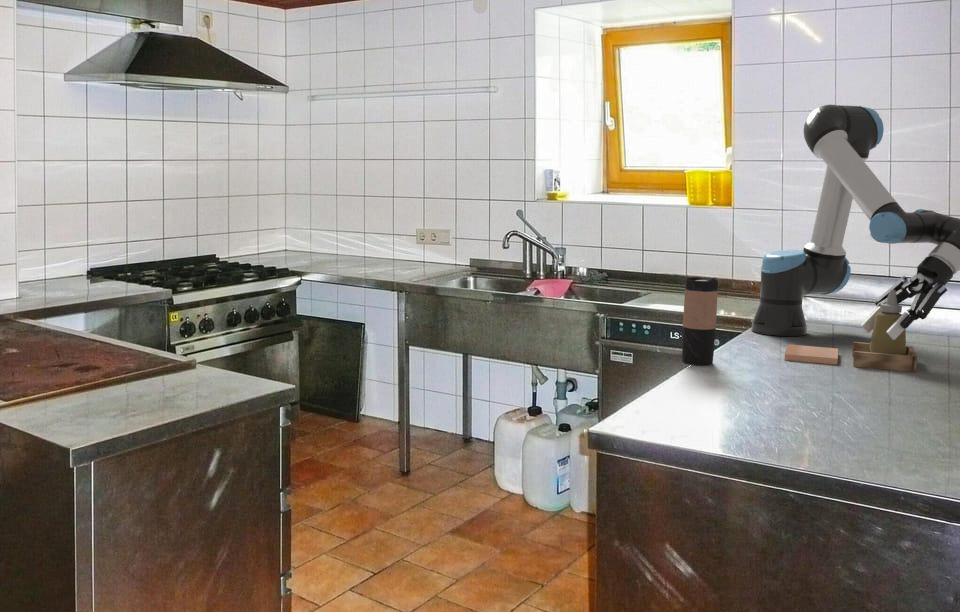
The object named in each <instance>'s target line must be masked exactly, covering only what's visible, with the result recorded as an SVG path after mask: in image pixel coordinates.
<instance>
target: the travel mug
mask: <svg viewBox="0 0 960 612" xmlns="http://www.w3.org/2000/svg"><path fill="white" fill-rule="evenodd" d="M684 284H685V285H684V300H683V302H684V303H683V317H682V340H681V341H682V344H681V345H682V346H681V349H682V351H681V352H682V353H681V362H682V363H683V364H686V365H690V366H699V367H700V366H706V367H707V366H711V365H713V362H714V356H715V355H714V354H715V342H716V330H717V328H716V327H717V316H718V315H717V313H718V312H717V311H718V310H717V309H718V296H719V295H718V290H719V280H718V279H716V278H710V279H709V280H705V279H703V278H702V277H686V278H685V283H684Z"/></svg>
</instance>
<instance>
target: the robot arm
mask: <svg viewBox="0 0 960 612" xmlns="http://www.w3.org/2000/svg"><path fill="white" fill-rule="evenodd" d="M884 132H885V131H884V123H883V120H882V118H881V117H880V114H879V113H878V111H876V110H875V109H873V108H870V107H865V106H861V105H840V104H825V105H821V106H819V107H816V108H815V109H813V110H812V111H811V112H810V114H808V116H807V117H806V120H805V121H804V125H803V136H804V137H803V138H804V140H805V144H806V146H807V148H808V149H809V151H811V152H812V154H813V155H814V157H816V158H817V159H820V160H821V159H822V160H823V161H824V163H825V164H826V165H827V166H826V168H825V174H824V179H823V183H822V186H821V187H822V188H821V193H820V198H819V202H818V207H817V210H816V215H815V220H814V224H813V229H812V235H811V240H810V241H808V242H807V243H805V244H804V246H803V250H800V249H785V250H784V249H781V250H773V251H769V252H767V253H766V254H765V255H764V256H763V257H762V263H761V266H760V290H759V291H760V292H759V305H758V307H757V309H756V311H755V314H754V316H753V320H752V322H751V331H752V332H754V333H758V334H762V335H768V336H769V335H770V336H779V337H798V336H800V337H801V336H805V335H807V332H808V331H807V330H808V325H807V321H806V318H805V313H804V310H803V297H804V296H808V295H821V296H823V295H826V296H827V295H829V294H835V293H838V292H840V291H841V290H843V289H844V288H845V286H846V285H848V282H849V280H850V277H851V273H852V269H851V266H850V261H849V259H848V258H847V257H846V255H847V251H846V250H845V248H844V247H843V244H844V238H845V235H846V229H847V226H848V222H849V217H850V212H851V209H852V204H853V200H854V201H855V203H856V204H857V205H858V208H860V209H861V210H862V212H863V213H864V214H865V216H866V217H867V219H868V220H869V221H870V222H869V226H868V229H869V232H870V234H869V235H870V236H871V238H872V239H873V240H874V241H876V242H877V243H881V244H882V243H883V244H891V245H893V244H894V245H895V244H921V243H922V244H932V245H933V244H934V245H936V246H935V247H934V248H933V249H931V251H930V252H929V254H928V256H926V257H925V258H923V260H922V261H921V262H920V263H919V264H918V265H917V269H916V274H915V275H913V276H911V277H909V278H907V277H906V275H902V276H901V277H900V278H899V279H898V280H897V282H896V283H894V284H893V285H892V286H891V287H890V288H888V290H887V289H886V291H885V292H883V294H881V295H880V296H879V297H878V298H877V299H875V300H874V301H873V303H874V305H875V306H876V308H874V310H873V311H872V312H870V314H869V315H868V317H866V319H865V320H864V321H863V322H862V323H861V324H860V326H861V328H862V329H863V330H864V331H865V332H866V334H870V333H871V332H872V331H873V327H874V322H875V317H876V314H878V313H880V312H882V311H880V310H881V304H886V301H887V298H888V295H889V292H890V290H896V297H897V304H898V305H900V304H902V302H904V301H905V300H907V299H912V298H913V297H914V299H913V301H912V303H911V306H910V307H909V309H906V311H904V312H903V313H901V314H902V315H901V317H900V318H899V319H898V320H897V321H896V322H895V323H894V324H893V325H892V326H891V327H890V328H889V329H888V330H887V331H886V332H887V334H888V335H889V336H890V337H891V338H892V340H895V339H896V338H897V337H898V336H899V335H900V334H901V333H902V332H903V331H904V330H905V329H908V328H909V326H910V325H911V324H913V322H914V321H917V320H918V319H921V321H922V320H925V319H926V318H927V317H928V316H929V314H930V313H931V311H932V310H933V308H934V307H935V305H936V304H937V302H938V301H939V300H940V299H941V297H942V296H943V295H944V294H945V293H946V292H947V291H948V289H947V287H946V285H947V284H948V282H950V280H951V279H953V277H954V276H955V275H956V274H957V273H958V272H959V271H960V218H958V217H954V216H949V215H947V214H943V213H939V212H936V211H934V210H930V209H929V210H927V209H921V208H920V209H916V210H915V211H913V212H906V211H905V210H904V209H903V208H902V206H901V205H900V204H899V203H898V202H897V200H896V199H895V198H894V197H893V196H892V194H891V193H890V192H889V190H888V189H887V188H886V187H885V186H884V184H883V183H882V182H881V180H879V178H878V176H876V175H875V173H874V171H872V169H871V168H870V167H869V165H867V163H866V162H865V161H867V160H868V159H869V155H870V151H872V150H873V149H874V148H875V149H876V147H877V145H880V143H881V141H882V139H883V136H884Z"/></svg>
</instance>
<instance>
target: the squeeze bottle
mask: <svg viewBox="0 0 960 612" xmlns="http://www.w3.org/2000/svg"><path fill="white" fill-rule="evenodd" d="M880 311H882V312H880V313H878V314H876V317H875V322H874V327H873V329H872V331H871V332H872V333H871V338H870V339H871V340H870V342H869V343H870V351H871V352H872V353H884V354H896V355H904V354H905V351H906V346H907V344H906V343H907V340H906V339H907V338H906V329H907V328H906V329H905V330H904V331H903V332H902V333H901V334H900V335H899V336H898V337H897V338H896V339H895V340H892V338H891V337H890V336H889V335H888V334H887V332H886V331H887V330H888V329H889V328H890V327H891V326H892V325H893V324H894V323H895V322H896V321H897V320H898V319H899V318H900V317H901V315H902V314H903V313H902V311H903V305H901V304H897V297H896V290H890V292H889V295H888V298H887V301H886V304H881V310H880Z"/></svg>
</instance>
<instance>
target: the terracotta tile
mask: <svg viewBox="0 0 960 612" xmlns="http://www.w3.org/2000/svg"><path fill="white" fill-rule="evenodd" d="M838 359H839V348H836V347H835V348H834V347H825V346H824V347H822V346H812V345H799V344H787V346H786V349H785V353H784V361H789V362H790V361H791V362H802V363H803V362H804V363H814V364H823V365H825V364H826V365H834V366H835V365H838V363H839V362H838V361H839V360H838Z"/></svg>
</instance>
